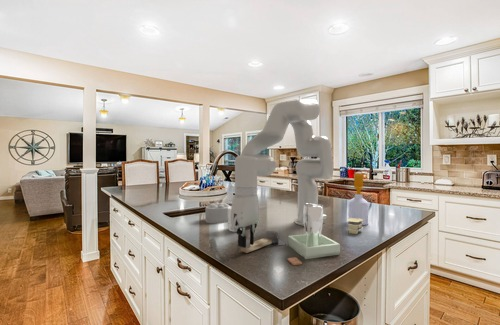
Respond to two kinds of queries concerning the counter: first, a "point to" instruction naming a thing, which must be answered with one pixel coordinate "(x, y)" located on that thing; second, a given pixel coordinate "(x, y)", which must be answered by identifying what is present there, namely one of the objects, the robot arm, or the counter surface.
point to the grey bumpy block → (216, 213)
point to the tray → (313, 247)
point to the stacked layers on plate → (354, 225)
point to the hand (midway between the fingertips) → (245, 244)
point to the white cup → (230, 218)
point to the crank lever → (269, 238)
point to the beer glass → (313, 223)
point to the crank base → (292, 260)
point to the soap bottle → (358, 201)
